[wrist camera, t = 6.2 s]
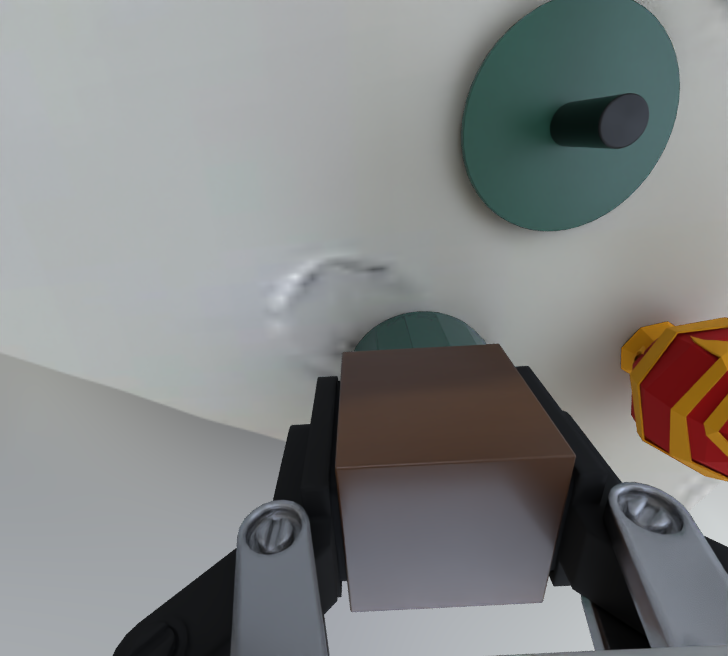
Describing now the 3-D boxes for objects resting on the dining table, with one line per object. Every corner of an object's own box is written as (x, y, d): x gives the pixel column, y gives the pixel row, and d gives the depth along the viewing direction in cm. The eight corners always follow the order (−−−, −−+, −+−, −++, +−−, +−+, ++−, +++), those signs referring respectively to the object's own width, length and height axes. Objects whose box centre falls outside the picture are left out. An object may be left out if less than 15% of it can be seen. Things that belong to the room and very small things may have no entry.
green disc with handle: (463, 6, 23) (501, -42, 17) (692, -11, 23) (815, -65, 17) (455, 233, 28) (482, 260, 22) (639, 221, 28) (717, 244, 22)
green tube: (341, 316, 31) (331, 427, 19) (496, 306, 31) (583, 411, 19) (352, 437, 36) (351, 584, 24) (485, 429, 36) (549, 573, 24)
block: (342, 351, 11) (334, 467, 7) (499, 342, 11) (577, 455, 7) (352, 469, 13) (350, 613, 9) (486, 462, 13) (543, 603, 9)
